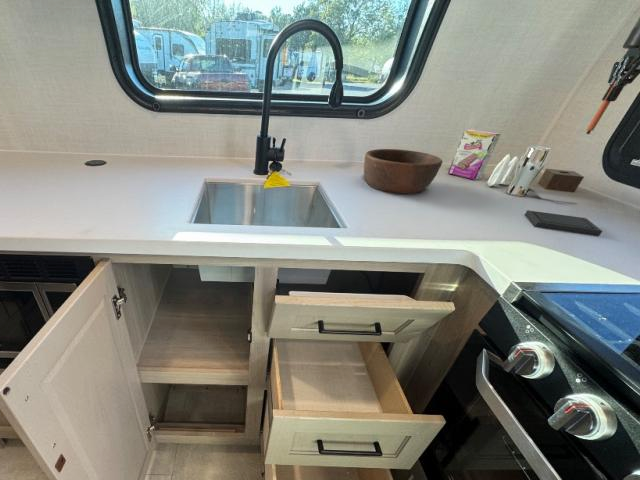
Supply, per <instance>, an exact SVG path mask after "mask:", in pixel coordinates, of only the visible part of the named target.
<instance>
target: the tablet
mask: <svg viewBox="0 0 640 480" xmlns="http://www.w3.org/2000/svg"><path fill="white" fill-rule="evenodd" d="M534 212H537V213H544V214H552V215H559V216H566V217H574V218H581V219H583V220H584V221H585V222H587V223H588V224H589V225H590V226H591V227H593V228H594V229H591V228H584V227H577V226H570V225H563V224H555V223H548V222H541V221H540V219H539V218H538V217H537V216H536V215H535V214H534ZM524 216H525V217H526V219H527V220H528V221H529V222H530V223H531V224H532V226H533V227H534V228H538V229H539V228H540V229H546V230H552V231H559V232H564V233H565V232H567V233H571V234H572V233H573V234H579V235H587V236H593V237H600V235H601V234H602V233H603V230H602V229H601V228H599V227H598V226H597V225H596V224H594V223H593V222H592V221H590V220H589V219H588V217H582V216H574V215H566V214H558V213H552V212H544V211H543V212H542V211H538V210H537V211H536V210H529V209H527V210H526V211H525V213H524Z"/></svg>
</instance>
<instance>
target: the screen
mask: <svg viewBox="0 0 640 480" xmlns="http://www.w3.org/2000/svg"><path fill="white" fill-rule="evenodd" d="M537 212H538V211H537ZM537 212H534V214H535V215H536V216H537V217H538V218H539V219H540V221H541V222H548V223H555V224H563V225H570V226H577V227H584V228H591V229H594V228H593V227H591V226H590V225H589V224H588V223H587V222H585V221H584V220H583V219H581V218H582V217H581V218H574V217H575V216H574V217H566V216H559V215H560V214H559V215H552V214H553V213H552V214H544V213H545V212H544V213H537Z"/></svg>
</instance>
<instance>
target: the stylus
mask: <svg viewBox="0 0 640 480" xmlns="http://www.w3.org/2000/svg"><path fill="white" fill-rule="evenodd" d="M615 83H616V81H615ZM615 83H614V84H615ZM614 84H613V86H614ZM613 86H612V88H613ZM612 88H611V89H612ZM610 91H611V90H610ZM610 91H609V93H610ZM609 93H608V94H609ZM607 96H608V95H607ZM607 96H606V98H607ZM606 98H605V100H604V101H603V100H602V103H601V105H600V106H599V107H598V109H597V111H596V113H595V115H594V116H593V118H592V120H591V122H590V123H589V125H588V126H587V128H586V135H590V134H591V132H593V131H594V130H595V129H596V127H597V126H598V123H599V122H600V120H601V118H602V117H603V115H604V113H605V112H606V110H607V109H608V107H609V105H610V103H611V102H612V101H606Z"/></svg>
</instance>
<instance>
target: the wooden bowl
mask: <svg viewBox="0 0 640 480" xmlns="http://www.w3.org/2000/svg"><path fill="white" fill-rule="evenodd" d="M363 163H364V164H363V176H364V180H365V183H366V184H367V185H368V186H369V187H371V188H372V189H376V190H380V191H383V190H384V191H383V192H388V191H389V192H388V193H394V192H395V194H417V193H420V192H422V191H424V190H426V189H427V188H428V187H429V186H430V185H431V183H432V182H433V181H434V180H435V178H436V176H437V174H438V172H439V171H440V169H441V167H442V165H443V160H442V158H440V157H439V156H437V155H433V154H431V153H426V152H421V151H415V150H409V149H396V148H379V149H371V150H368V151H367V152H366V153H365V155H364V162H363Z"/></svg>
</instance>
